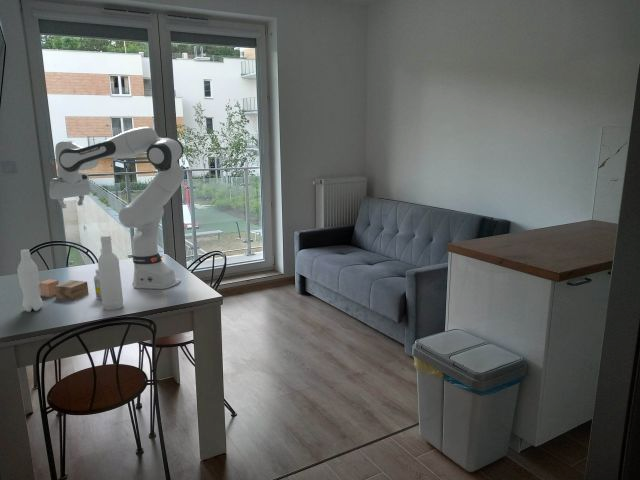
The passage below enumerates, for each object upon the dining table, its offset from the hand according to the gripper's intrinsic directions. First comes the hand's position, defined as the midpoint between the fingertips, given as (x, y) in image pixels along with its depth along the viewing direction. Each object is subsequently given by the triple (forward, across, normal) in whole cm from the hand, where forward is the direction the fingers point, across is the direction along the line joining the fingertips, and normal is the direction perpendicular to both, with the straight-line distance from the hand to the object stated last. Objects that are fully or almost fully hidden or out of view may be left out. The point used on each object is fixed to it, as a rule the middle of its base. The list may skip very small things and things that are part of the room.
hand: (72, 206), depth 223 cm
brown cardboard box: (+37, -18, 0) cm, 41 cm away
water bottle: (+38, -35, -11) cm, 52 cm away
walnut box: (+38, -16, -12) cm, 43 cm away
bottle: (+37, -22, -41) cm, 59 cm away
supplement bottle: (+37, -13, -28) cm, 48 cm away
